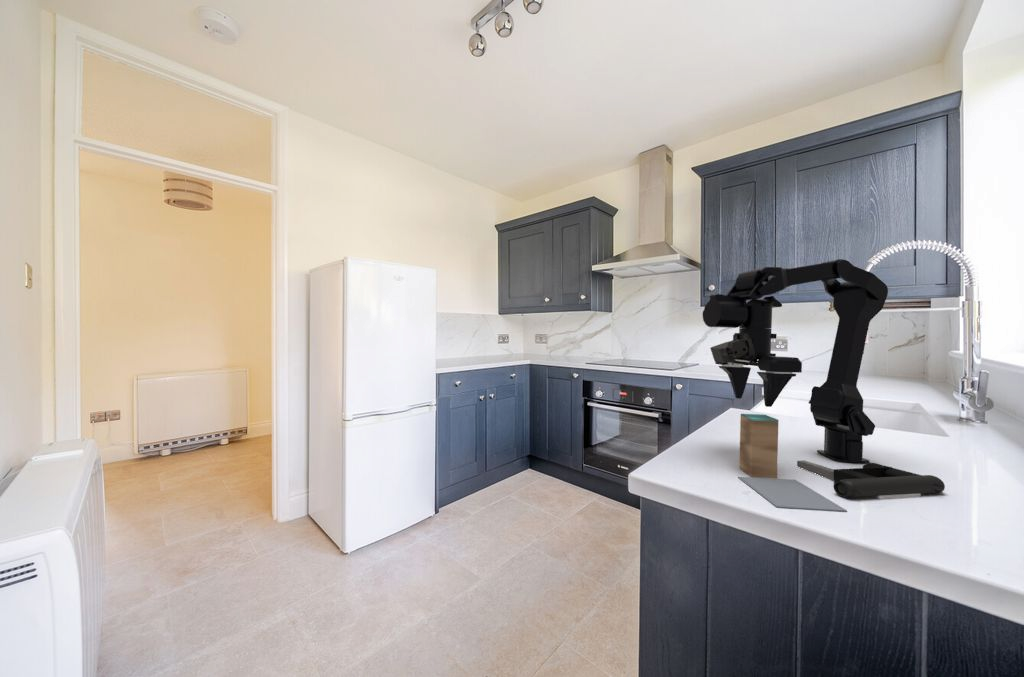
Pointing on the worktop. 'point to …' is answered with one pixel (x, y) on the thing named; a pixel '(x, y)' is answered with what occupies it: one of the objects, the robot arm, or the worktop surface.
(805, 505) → the mat
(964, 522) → the worktop surface
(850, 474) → the door handle
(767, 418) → the walnut block
